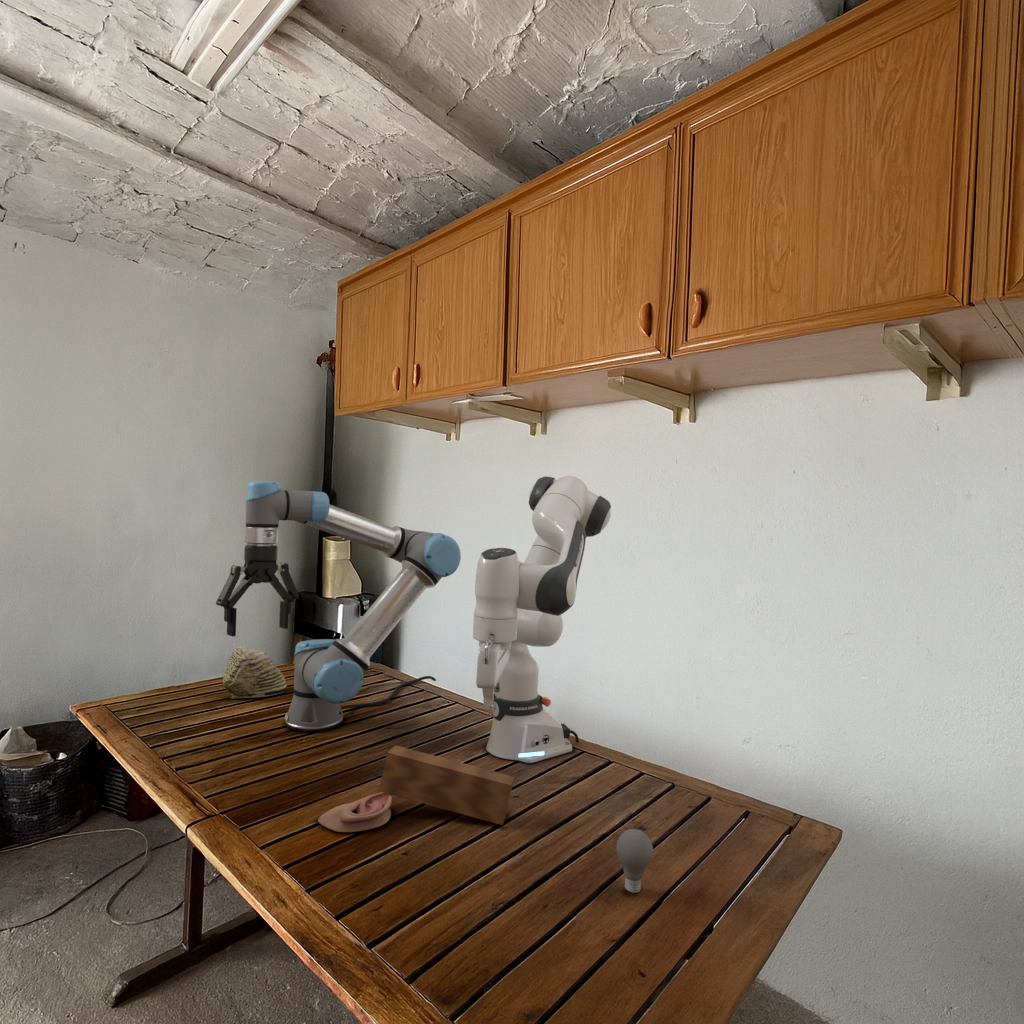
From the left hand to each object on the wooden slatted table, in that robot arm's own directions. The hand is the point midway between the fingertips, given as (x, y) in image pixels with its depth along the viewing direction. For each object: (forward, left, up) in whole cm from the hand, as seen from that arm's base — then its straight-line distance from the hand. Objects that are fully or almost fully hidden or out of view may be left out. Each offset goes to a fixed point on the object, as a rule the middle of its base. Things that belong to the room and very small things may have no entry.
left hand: (258, 631), depth 154 cm
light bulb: (-14, +96, -30) cm, 101 cm away
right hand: (-15, +63, -5) cm, 64 cm away
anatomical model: (+3, +44, -30) cm, 53 cm away
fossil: (-23, -41, -30) cm, 55 cm away
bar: (-10, +55, -27) cm, 62 cm away
